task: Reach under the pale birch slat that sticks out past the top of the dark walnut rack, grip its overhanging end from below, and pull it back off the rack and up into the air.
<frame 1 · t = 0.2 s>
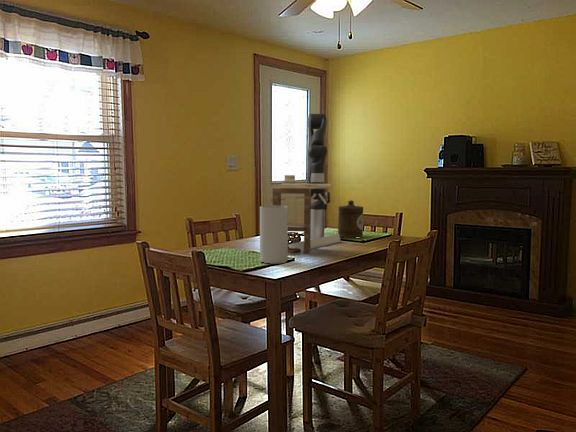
hand: (317, 210, 287), 18 cm above the table, tool pointing down, fingers open, 8 cm apart
offcut stack: (289, 187, 263), point 32 cm above the table, touching walnut rack
birch slat: (305, 188, 254), point 32 cm above the table, touching walnut rack
wooden container: (350, 237, 308), on the table
cylinder vase: (273, 261, 233), on the table
walnut rack: (292, 250, 261), on the table
decorative molding: (315, 245, 280), on the table
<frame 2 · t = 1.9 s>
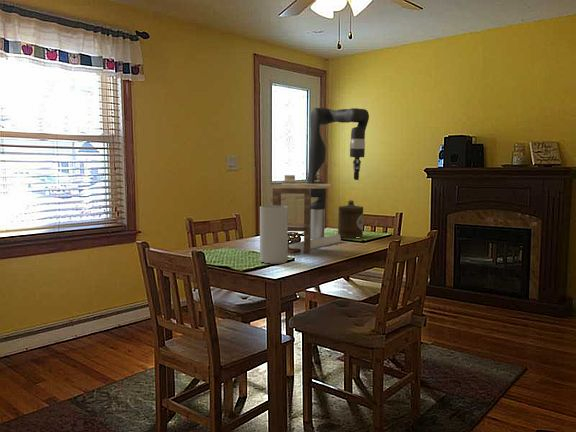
hand: (356, 179, 267), 36 cm above the table, tool pointing down, fingers open, 8 cm apart
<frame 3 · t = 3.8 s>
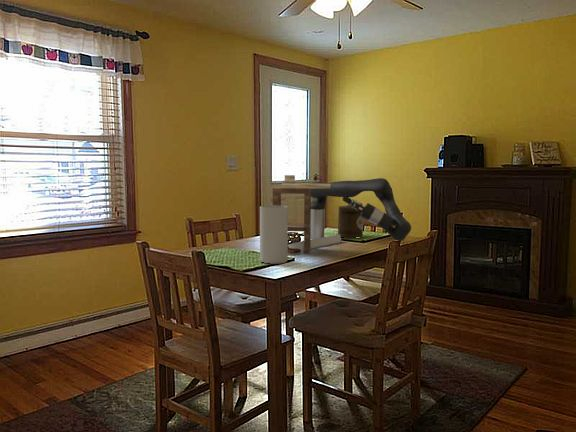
hand: (343, 197, 253), 27 cm above the table, tool pointing upward, fingers open, 8 cm apart
nothing on the table moved.
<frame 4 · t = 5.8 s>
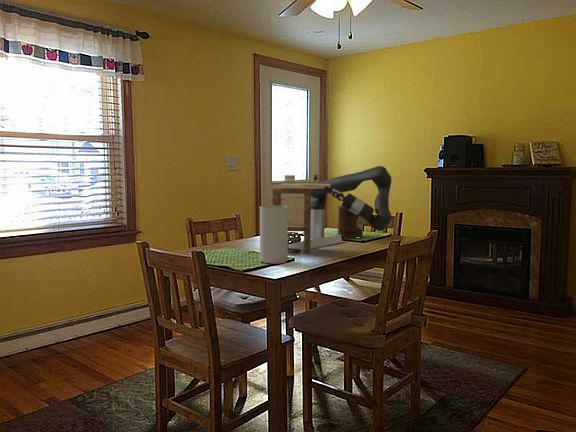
hand: (324, 187, 254), 32 cm above the table, tool pointing upward, fingers open, 8 cm apart
decorative molding: (315, 246, 279), on the table, touching walnut rack
everything else where it was.
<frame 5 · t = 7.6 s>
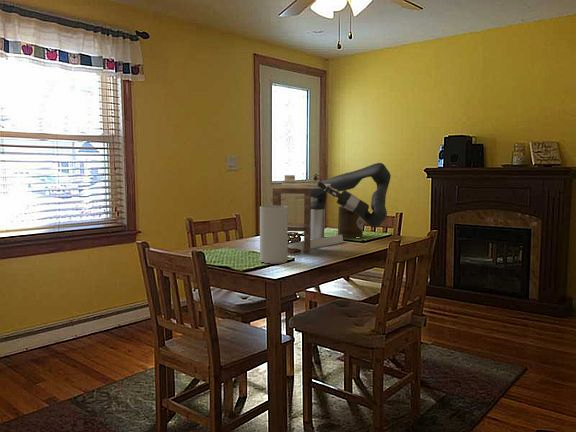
hand: (318, 183, 254), 34 cm above the table, tool pointing upward, fingers closed on birch slat, 4 cm apart
birch slat: (305, 188, 254), point 32 cm above the table, touching gripper, walnut rack
decorative molding: (316, 246, 279), on the table
everything else where it was.
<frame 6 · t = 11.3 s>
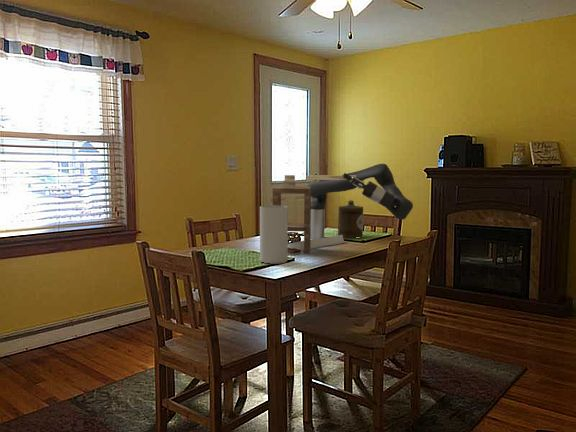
hand: (343, 174, 252), 39 cm above the table, tool pointing upward, fingers closed on birch slat, 4 cm apart
birch slat: (331, 179, 253), point 36 cm above the table, touching gripper
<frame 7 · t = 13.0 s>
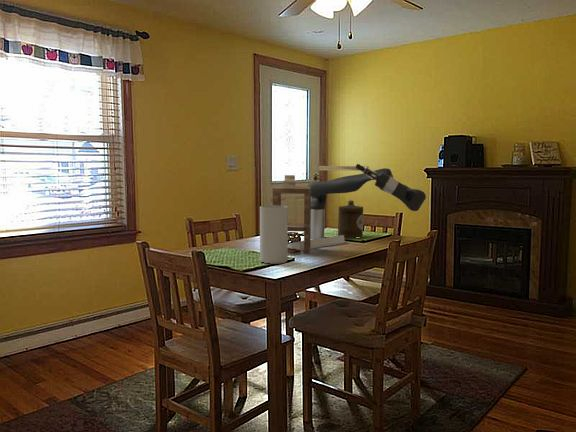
hand: (356, 165, 251), 43 cm above the table, tool pointing upward, fingers closed on birch slat, 4 cm apart
birch slat: (343, 170, 252), point 41 cm above the table, touching gripper
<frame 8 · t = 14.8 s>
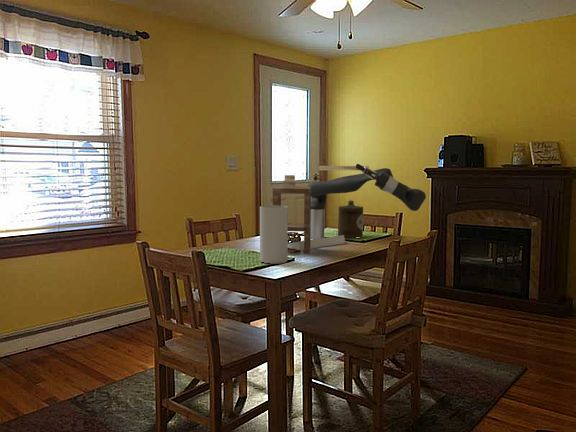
hand: (356, 165, 251), 43 cm above the table, tool pointing upward, fingers closed on birch slat, 4 cm apart
birch slat: (343, 170, 252), point 41 cm above the table, touching gripper
at the end: birch slat touching gripper; birch slat point 40.9 cm above the table; birch slat moved 20.5 cm from its start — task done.
